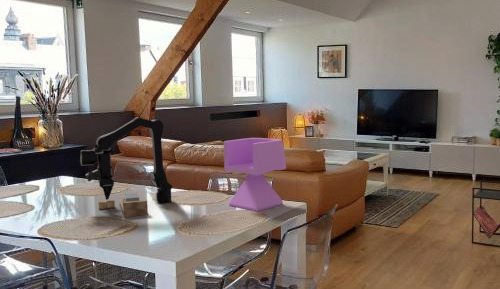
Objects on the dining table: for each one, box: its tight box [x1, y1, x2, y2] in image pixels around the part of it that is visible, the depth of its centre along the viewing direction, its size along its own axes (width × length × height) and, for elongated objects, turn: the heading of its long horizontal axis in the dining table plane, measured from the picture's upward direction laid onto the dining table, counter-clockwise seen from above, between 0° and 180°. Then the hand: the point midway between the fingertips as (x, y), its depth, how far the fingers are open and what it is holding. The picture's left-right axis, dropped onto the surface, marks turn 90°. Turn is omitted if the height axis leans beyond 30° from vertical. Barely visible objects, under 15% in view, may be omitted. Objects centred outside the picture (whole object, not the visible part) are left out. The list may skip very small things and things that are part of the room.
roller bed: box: [119, 197, 142, 216], centre depth 225 cm, size 10×22×4 cm, turn 19°
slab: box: [122, 192, 140, 202], centre depth 230 cm, size 6×12×2 cm, turn 19°
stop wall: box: [122, 199, 149, 218], centre depth 215 cm, size 10×2×6 cm, turn 109°
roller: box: [98, 199, 116, 210], centre depth 229 cm, size 7×4×4 cm
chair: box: [223, 137, 287, 213], centre depth 227 cm, size 20×20×30 cm
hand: (106, 197), depth 228 cm, fingers open, 9 cm apart
